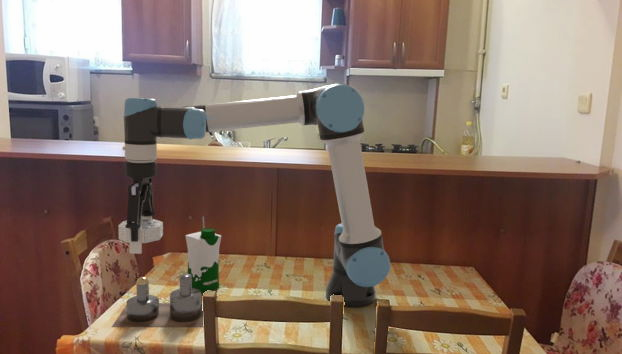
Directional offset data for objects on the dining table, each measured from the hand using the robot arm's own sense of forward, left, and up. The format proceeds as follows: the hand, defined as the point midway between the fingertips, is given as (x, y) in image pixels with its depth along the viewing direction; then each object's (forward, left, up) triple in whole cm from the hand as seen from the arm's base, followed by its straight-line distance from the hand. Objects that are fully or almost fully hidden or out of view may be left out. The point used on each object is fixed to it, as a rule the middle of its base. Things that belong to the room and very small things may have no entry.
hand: (141, 246), depth 124 cm
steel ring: (0, 0, +2) cm, 2 cm away
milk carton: (-19, +13, -21) cm, 31 cm away
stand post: (0, +11, -19) cm, 22 cm away
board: (-1, +6, -20) cm, 21 cm away
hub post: (0, 0, -19) cm, 19 cm away
